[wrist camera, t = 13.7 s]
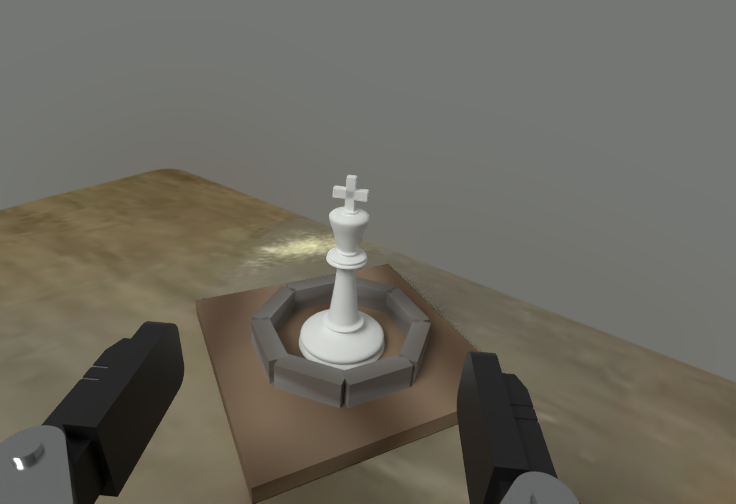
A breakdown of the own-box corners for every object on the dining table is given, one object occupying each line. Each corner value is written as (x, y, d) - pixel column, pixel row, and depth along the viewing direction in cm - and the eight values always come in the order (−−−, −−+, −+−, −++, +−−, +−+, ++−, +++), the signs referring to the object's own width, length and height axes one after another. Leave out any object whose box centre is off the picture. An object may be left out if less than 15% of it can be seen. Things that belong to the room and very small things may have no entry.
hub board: (386, 275, 35) (390, 246, 34) (512, 402, 25) (522, 367, 23) (197, 313, 29) (192, 280, 28) (252, 503, 19) (249, 463, 17)
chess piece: (376, 379, 24) (396, 202, 19) (286, 363, 25) (284, 187, 20) (389, 324, 28) (408, 168, 24) (312, 311, 29) (316, 156, 24)
